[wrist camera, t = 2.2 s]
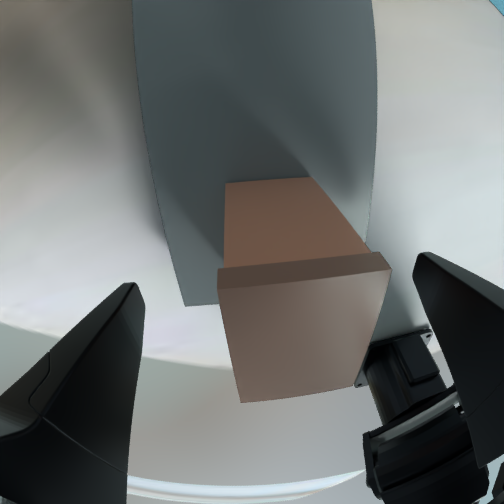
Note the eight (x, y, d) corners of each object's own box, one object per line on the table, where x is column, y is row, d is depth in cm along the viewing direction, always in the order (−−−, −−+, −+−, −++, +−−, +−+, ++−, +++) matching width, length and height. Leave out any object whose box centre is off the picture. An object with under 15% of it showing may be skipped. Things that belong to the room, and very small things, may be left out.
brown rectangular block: (298, 240, 14) (352, 386, 7) (233, 247, 14) (240, 403, 7) (298, 157, 12) (392, 268, 5) (223, 162, 12) (216, 289, 5)
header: (337, 253, 15) (356, 287, 13) (191, 267, 15) (184, 306, 12) (327, -71, 5) (349, -97, 3) (152, -65, 5) (136, -93, 3)
